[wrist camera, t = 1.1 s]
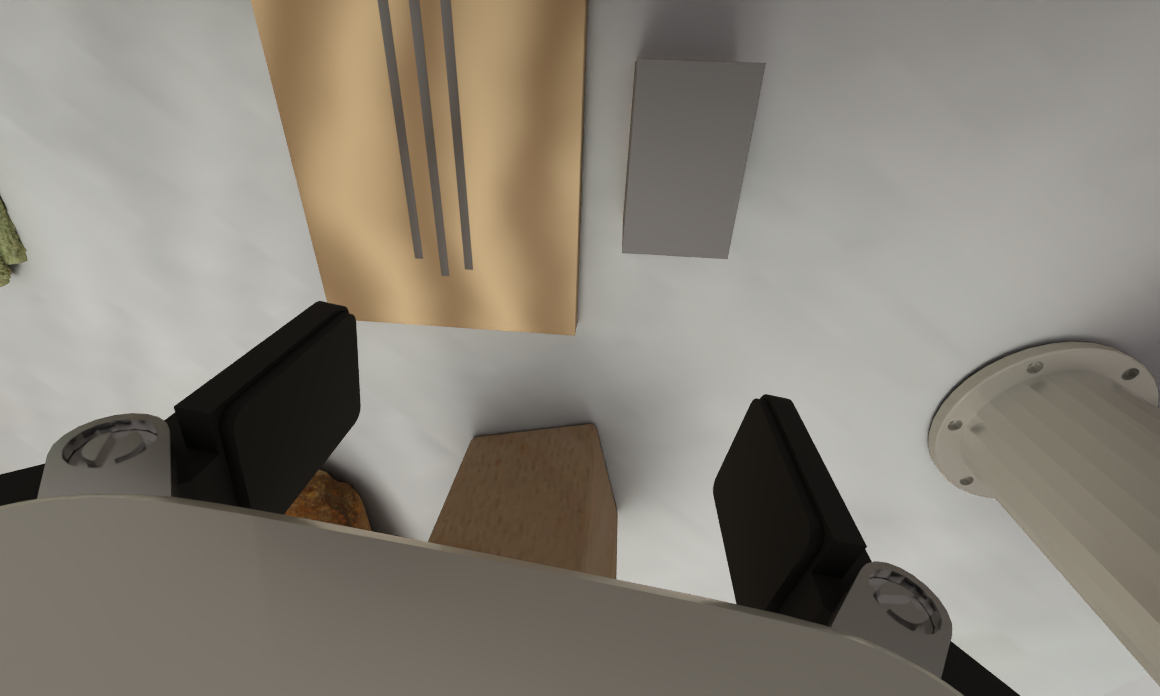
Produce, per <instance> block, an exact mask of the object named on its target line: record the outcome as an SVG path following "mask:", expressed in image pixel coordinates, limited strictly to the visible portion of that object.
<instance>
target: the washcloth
mask: <svg viewBox="0 0 1160 696" xmlns="http://www.w3.org/2000/svg"><path fill="white" fill-rule="evenodd" d="M15 229H16V228H15V227H14V225H13V223H12V221H11V220H10V219H9V217H8V215H7V213H6V209H5V208H4V205H3V203H2V201H1V197H0V287H1V286H5V285H6V284H8V283H9V282H10V281H9V278H11V277H10V275H11V273H12V272H11V270H10V268H9V267H8V266H7V264H8V265H11V264H18V263H23V262H25V261H27V256H26V254H25V252H26V249H25V248H24V247H23V245H22V243H21V242H20V241H19V239H18V238H19V236H18V235H17V233H16V231H15Z"/></svg>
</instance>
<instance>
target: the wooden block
mask: <svg viewBox="0 0 1160 696" xmlns="http://www.w3.org/2000/svg"><path fill="white" fill-rule="evenodd" d="M617 516H618V514H617V510H616V506H615V502H614V498H613V493H612V489H611V485H610V481H609V477H608V473H607V469H606V465H605V461H604V457H603V453H602V449H601V445H600V441H599V437H598V433H597V429H596V428H595V426H594V425H593V424H583V425H574V426H566V427H557V428H549V429H540V430H531V431H523V432H514V433H505V434H497V435H488V436H479V437H475V438H473V439H472V440H471V442H470V444H469V447H468V449H467V451H466V454H465V456H464V458H463V461H462V463H461V465H460V468H459V470H458V473H457V475H456V477H455V480H454V482H453V484H452V487H451V489H450V491H449V494H448V496H447V498H446V501H445V503H444V505H443V508H442V510H441V512H440V515H439V517H438V519H437V522H436V524H435V526H434V529H433V531H432V533H431V536H430V538H429V541H428V542H430V543H435V544H440V545H445V546H450V547H456V548H461V549H466V550H471V551H476V552H481V553H486V554H491V555H496V556H501V557H507V558H512V559H517V560H522V561H527V562H532V563H537V564H542V565H547V566H552V567H557V568H562V569H567V570H572V571H577V572H582V573H587V574H592V575H597V576H602V577H607V578H612V579H616V566H617Z"/></svg>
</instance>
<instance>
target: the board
mask: <svg viewBox="0 0 1160 696" xmlns="http://www.w3.org/2000/svg"><path fill="white" fill-rule="evenodd" d="M251 3H252V7H253V11H254V15H255V18H256V22H257V26H258V30H259V34H260V38H261V42H262V46H263V50H264V54H265V58H266V62H267V66H268V70H269V74H270V78H271V82H272V86H273V90H274V94H275V97H276V101H277V105H278V109H279V113H280V117H281V121H282V125H283V129H284V133H285V137H286V141H287V145H288V149H289V153H290V157H291V161H292V165H293V169H294V173H295V177H296V180H297V184H298V188H299V192H300V196H301V200H302V204H303V208H304V212H305V216H306V220H307V224H308V228H309V232H310V236H311V240H312V244H313V248H314V252H315V256H316V259H317V263H318V267H319V271H320V275H321V279H322V283H323V287H324V291H325V295H326V299H327V303H332V304H337V305H342V306H345V307H347V308H348V311H349V314H353V315H354V316H355V318H356V320H358V321H373V322H387V323H401V324H416V325H430V326H445V327H459V328H474V329H488V330H502V331H517V332H531V333H546V334H560V335H575V332H576V327H577V311H578V281H579V251H580V222H581V192H582V162H583V133H584V103H585V73H586V43H587V14H588V0H251Z"/></svg>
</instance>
